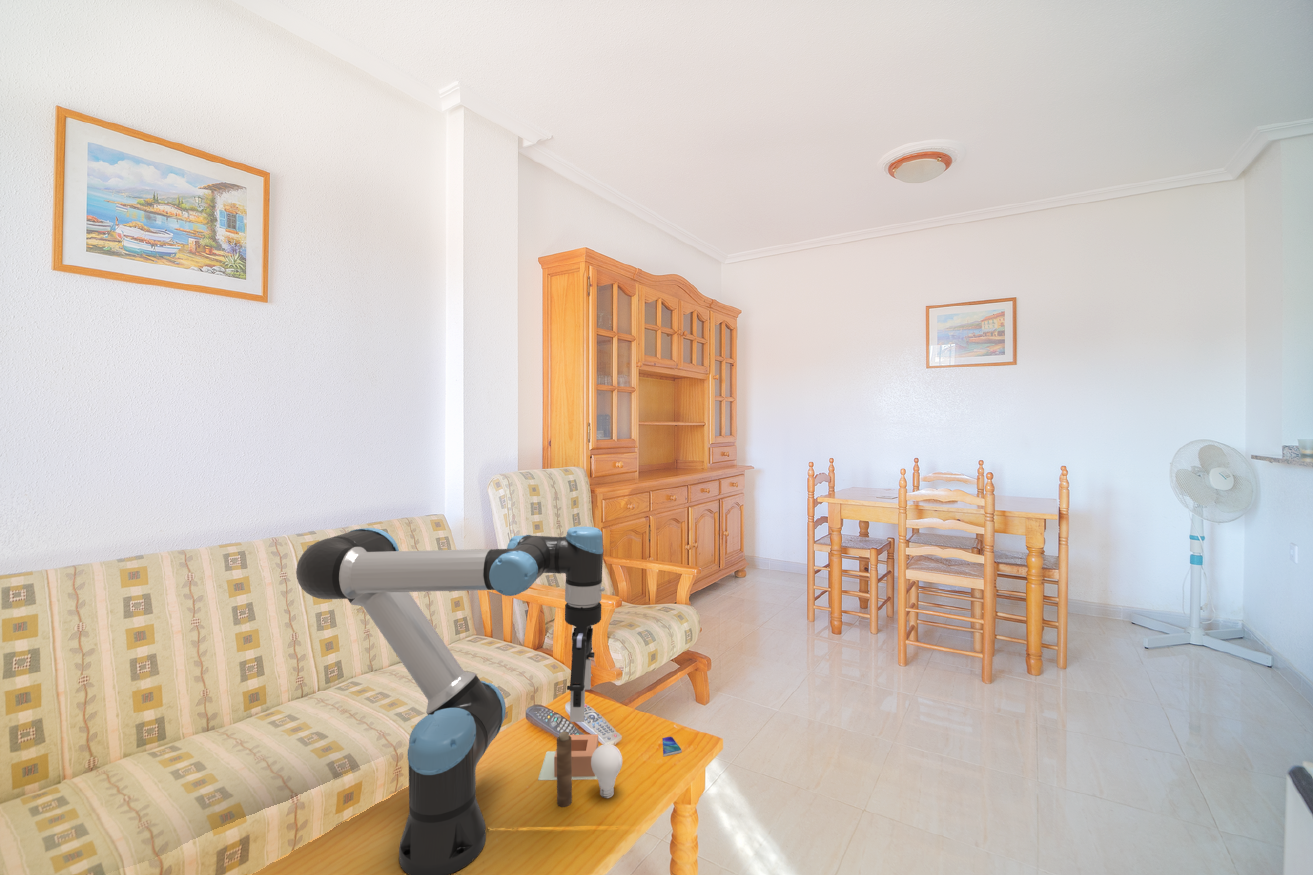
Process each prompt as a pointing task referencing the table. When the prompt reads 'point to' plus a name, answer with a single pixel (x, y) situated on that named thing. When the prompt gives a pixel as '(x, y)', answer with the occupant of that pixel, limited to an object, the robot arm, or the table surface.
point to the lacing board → (548, 769)
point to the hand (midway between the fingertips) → (580, 704)
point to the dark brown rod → (564, 770)
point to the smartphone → (670, 746)
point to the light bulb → (606, 767)
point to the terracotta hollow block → (581, 754)
